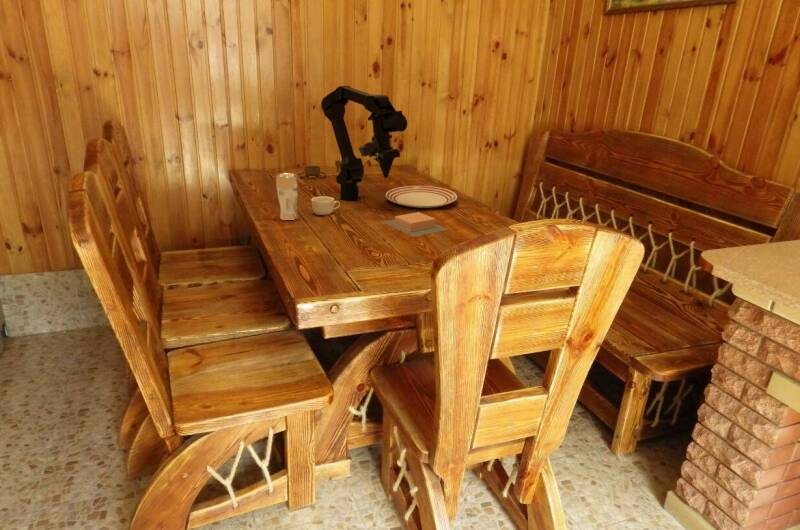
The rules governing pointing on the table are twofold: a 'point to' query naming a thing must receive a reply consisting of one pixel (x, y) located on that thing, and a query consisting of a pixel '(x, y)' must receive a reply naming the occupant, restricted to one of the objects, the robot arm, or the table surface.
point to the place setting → (316, 171)
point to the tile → (414, 221)
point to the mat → (417, 232)
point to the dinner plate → (421, 196)
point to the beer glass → (287, 195)
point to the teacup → (323, 205)
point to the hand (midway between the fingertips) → (385, 177)
